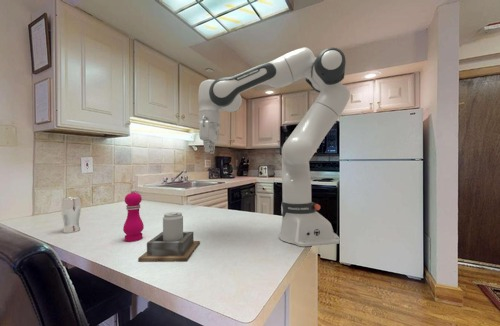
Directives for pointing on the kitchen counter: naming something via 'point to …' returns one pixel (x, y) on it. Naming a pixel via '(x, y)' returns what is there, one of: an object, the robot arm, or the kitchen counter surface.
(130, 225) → the pepper mill
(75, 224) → the beer glass
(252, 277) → the kitchen counter surface
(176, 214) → the beverage can
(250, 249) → the kitchen counter surface
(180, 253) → the collar plate
